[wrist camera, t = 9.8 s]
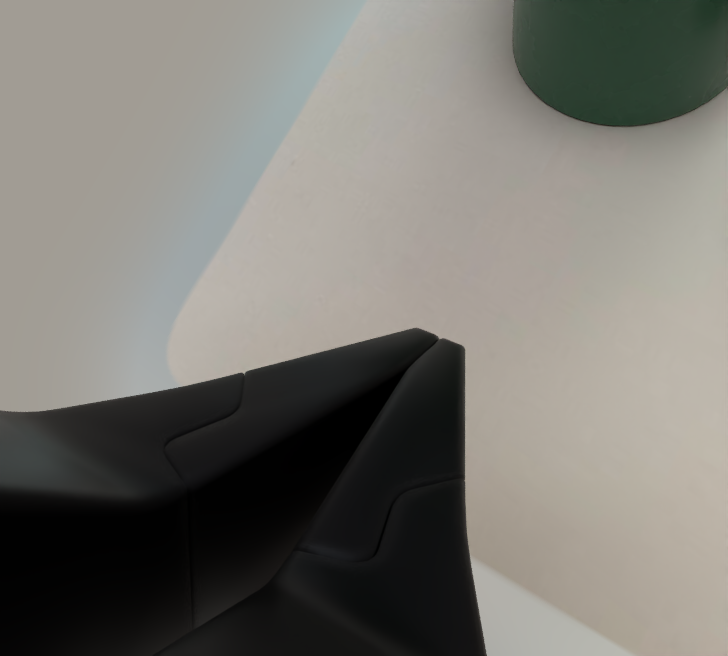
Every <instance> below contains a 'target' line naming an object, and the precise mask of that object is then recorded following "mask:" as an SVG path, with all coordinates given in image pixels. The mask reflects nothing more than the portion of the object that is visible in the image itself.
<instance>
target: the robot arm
mask: <svg viewBox="0 0 728 656" xmlns="http://www.w3.org/2000/svg"><path fill="white" fill-rule="evenodd" d="M464 480H465V348H464V347H463V346H462V345H460V344H457V343H455V342H452V341H450V340H447V339H444V338H442V339H439V338H438V336H436V335H434V334H432V333H429V332H427V331H424V330H422V329H419V328H413V329H409V330H405V331H401V332H397V333H393V334H389V335H386V336H382V337H378V338H374V339H370V340H366V341H362V342H358V343H355V344H351V345H347V346H343V347H339V348H335V349H331V350H327V351H324V352H320V353H316V354H312V355H308V356H304V357H300V358H296V359H293V360H289V361H285V362H281V363H277V364H273V365H269V366H265V367H261V368H258V369H254V370H250V371H247V372H245V376H244V374H243V373H238V374H234V375H230V376H226V377H222V378H218V379H214V380H210V381H205V382H201V383H197V384H193V385H188V386H184V387H178V388H174V389H168V390H163V391H158V392H153V393H147V394H142V395H136V396H130V397H124V398H118V399H113V400H107V401H101V402H96V403H90V404H84V405H78V406H72V407H67V408H61V409H55V410H47V411H40V412H8V411H0V656H487V655H486V649H485V644H484V637H483V632H482V626H481V621H480V615H479V609H478V603H477V598H476V591H475V585H474V580H473V575H472V568H471V561H470V553H469V545H468V538H467V527H466V506H465V481H464Z"/></svg>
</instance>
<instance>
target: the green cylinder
mask: <svg viewBox="0 0 728 656" xmlns="http://www.w3.org/2000/svg"><path fill="white" fill-rule="evenodd" d="M513 53H514V57H515V62H516V64H517V67H518V69H519V72H520V74H521V75H522V77H523V79H524V80H525V82H526V84H527V85H528V86H529V87H530V88H531V90H532V91H533V92H534V93H535V94H536V95H537V96H538V97H539V98H541V99H542V100H543V101H544V102H545V103H547V104H548V105H550V106H551V107H553V108H554V109H556V110H558V111H560V112H562V113H564V114H566V115H568V116H571V117H574V118H577V119H580V120H583V121H587V122H592V123H596V124H604V125H613V126H632V125H643V124H650V123H655V122H660V121H664V120H667V119H670V118H674V117H677V116H680V115H682V114H684V113H687V112H689V111H691V110H693V109H696V108H697V107H699V106H701V105H702V104H704V103H706V102H708V101H709V100H711V99H712V98H713V97H715V96H716V95H717V94H719V93H720V92H721V91H723V90H724V89H725V88H726V87H727V86H728V0H514V6H513Z"/></svg>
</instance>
